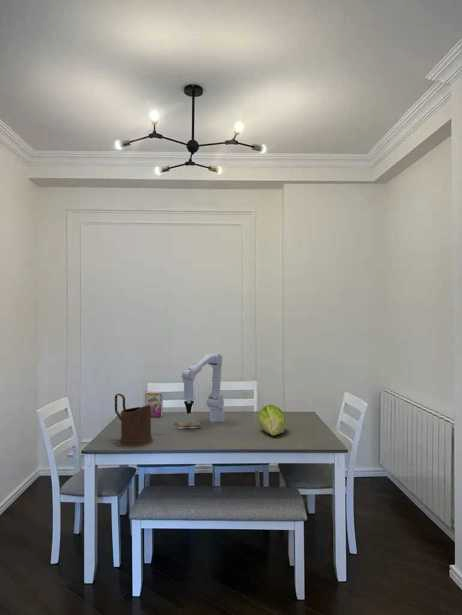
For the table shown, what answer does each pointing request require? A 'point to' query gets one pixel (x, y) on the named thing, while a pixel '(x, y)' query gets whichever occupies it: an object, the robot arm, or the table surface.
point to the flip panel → (188, 425)
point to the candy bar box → (155, 403)
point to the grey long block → (176, 422)
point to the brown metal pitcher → (134, 424)
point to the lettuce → (272, 420)
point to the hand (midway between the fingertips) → (188, 413)
